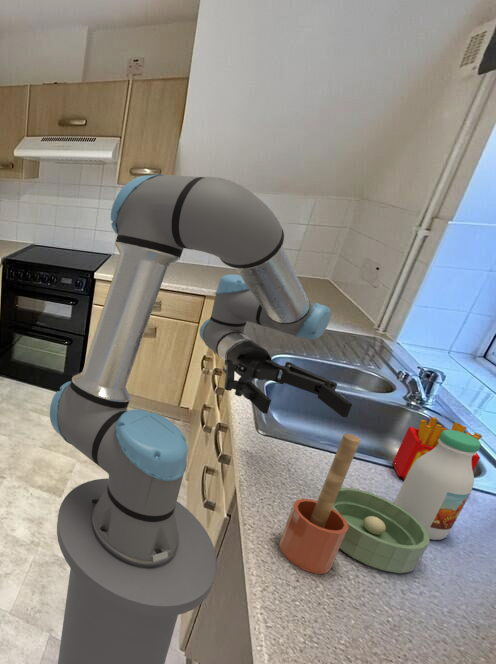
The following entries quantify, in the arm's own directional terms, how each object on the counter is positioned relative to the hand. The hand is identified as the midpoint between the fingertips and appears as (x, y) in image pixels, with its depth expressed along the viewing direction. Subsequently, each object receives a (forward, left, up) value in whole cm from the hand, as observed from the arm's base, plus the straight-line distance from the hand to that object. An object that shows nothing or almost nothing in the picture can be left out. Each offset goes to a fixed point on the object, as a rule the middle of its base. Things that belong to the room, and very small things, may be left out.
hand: (307, 408), depth 72 cm
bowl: (+14, 0, -23) cm, 27 cm away
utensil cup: (+4, -9, -23) cm, 25 cm away
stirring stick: (+4, -9, -23) cm, 25 cm away
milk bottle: (+24, +10, -23) cm, 35 cm away
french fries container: (+30, +27, -23) cm, 47 cm away
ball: (+16, +3, -21) cm, 26 cm away
